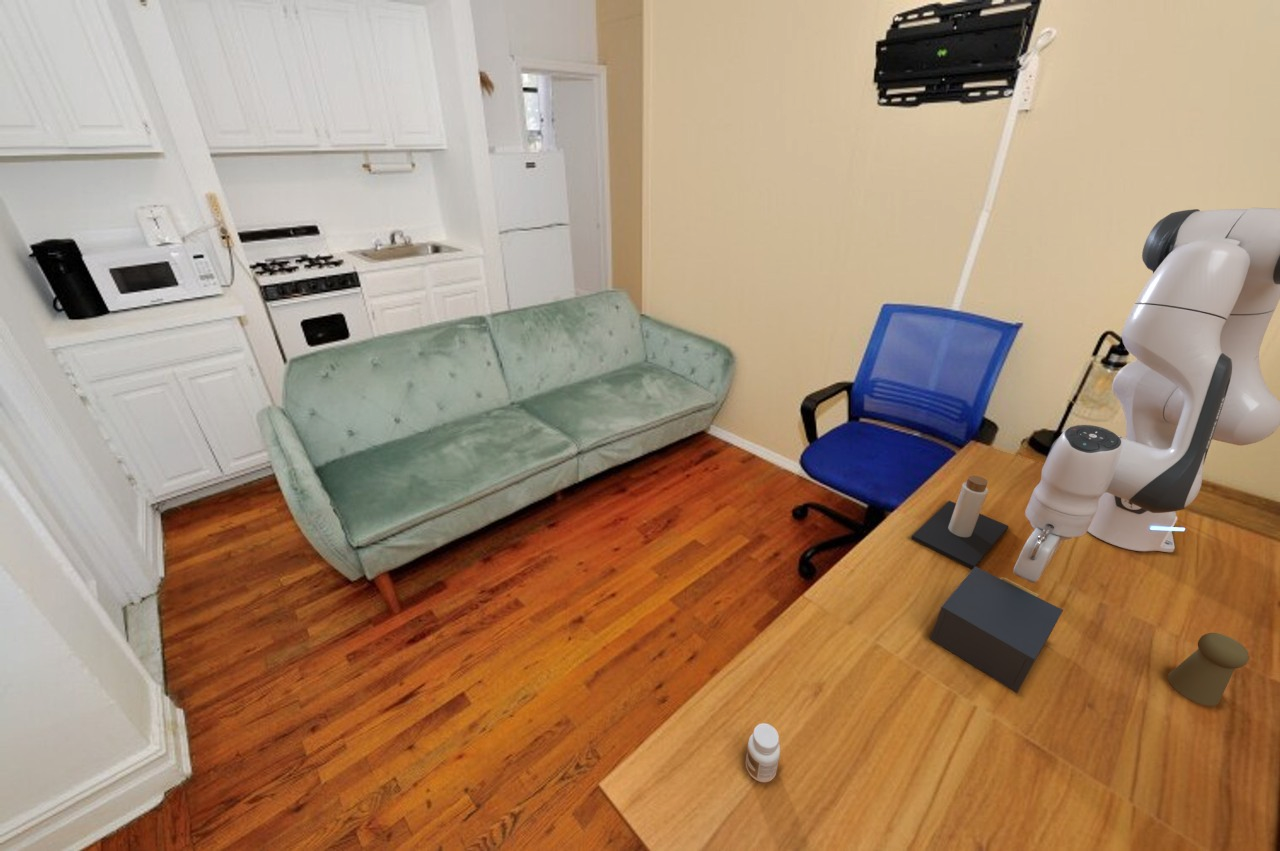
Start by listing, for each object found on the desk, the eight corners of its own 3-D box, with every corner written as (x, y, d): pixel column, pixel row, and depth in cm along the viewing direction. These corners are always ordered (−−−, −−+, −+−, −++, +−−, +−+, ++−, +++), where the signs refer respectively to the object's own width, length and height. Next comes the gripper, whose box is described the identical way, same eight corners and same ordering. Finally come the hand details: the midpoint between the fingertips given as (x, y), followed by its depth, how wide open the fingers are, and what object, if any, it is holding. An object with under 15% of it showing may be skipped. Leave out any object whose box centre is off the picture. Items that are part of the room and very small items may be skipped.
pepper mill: (961, 522, 118) (979, 472, 111) (977, 535, 114) (996, 484, 107) (943, 525, 117) (960, 475, 111) (958, 538, 113) (976, 487, 106)
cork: (1230, 709, 79) (1270, 663, 74) (1184, 702, 80) (1221, 656, 75) (1200, 674, 84) (1236, 629, 79) (1158, 668, 85) (1190, 623, 80)
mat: (948, 503, 126) (949, 500, 125) (1007, 529, 117) (1008, 525, 117) (910, 538, 115) (912, 535, 114) (973, 570, 106) (974, 566, 105)
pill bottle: (741, 752, 75) (746, 721, 71) (770, 749, 75) (776, 718, 71) (750, 785, 71) (755, 753, 67) (780, 781, 71) (787, 750, 67)
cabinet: (962, 597, 99) (975, 566, 96) (1045, 642, 90) (1063, 609, 86) (929, 638, 91) (941, 606, 87) (1017, 693, 82) (1034, 659, 78)
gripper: (1062, 550, 80) (1034, 611, 87) (1095, 497, 92) (1068, 554, 98) (1017, 531, 85) (993, 590, 91) (1053, 483, 96) (1030, 538, 103)
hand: (1032, 571), depth 95 cm, fingers closed
